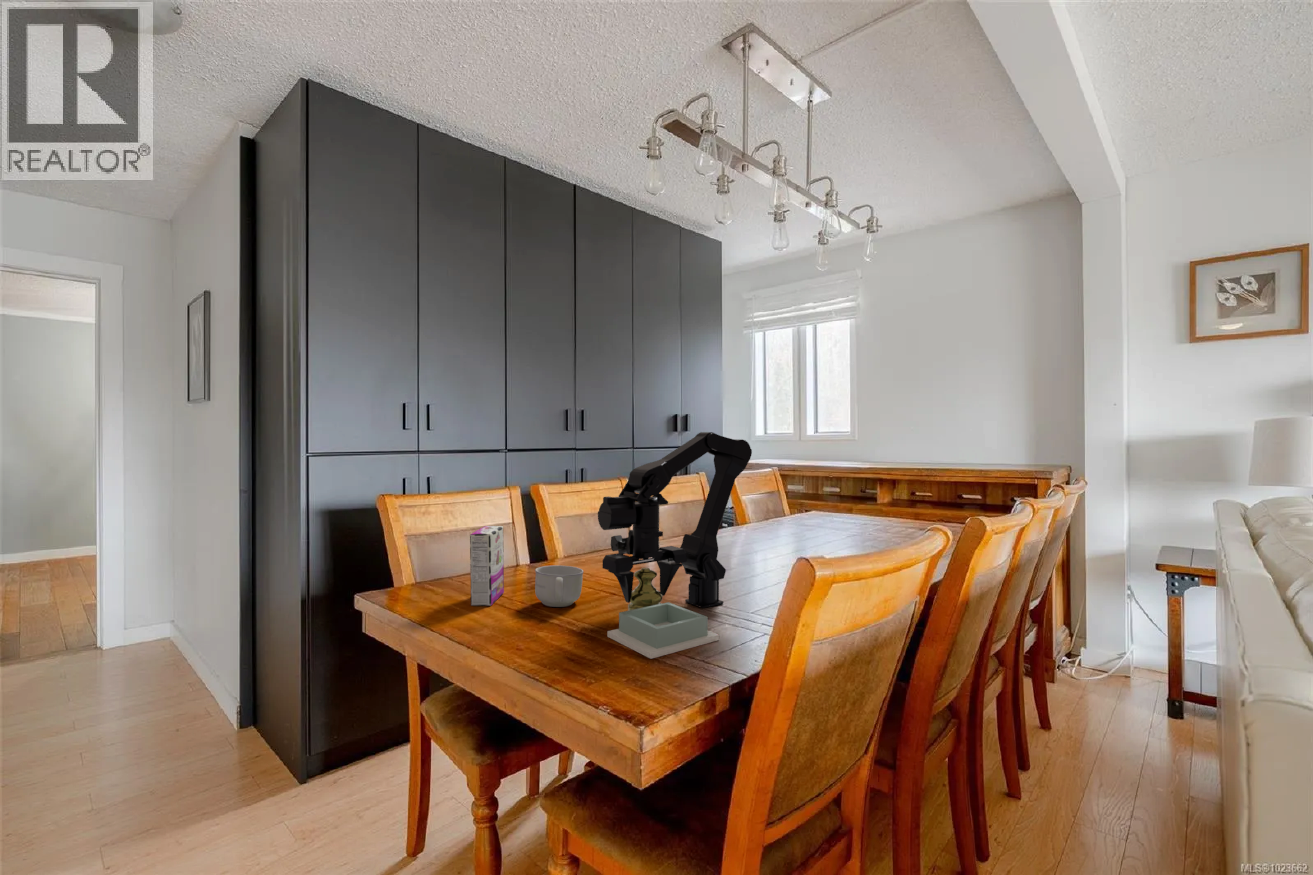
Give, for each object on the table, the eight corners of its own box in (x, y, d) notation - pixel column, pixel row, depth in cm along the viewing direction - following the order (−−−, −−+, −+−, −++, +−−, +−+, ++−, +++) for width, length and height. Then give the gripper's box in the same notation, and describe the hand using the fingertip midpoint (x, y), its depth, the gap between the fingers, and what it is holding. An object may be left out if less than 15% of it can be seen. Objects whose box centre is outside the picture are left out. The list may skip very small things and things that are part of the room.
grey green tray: (672, 621, 124) (672, 599, 124) (718, 640, 113) (719, 616, 113) (607, 636, 115) (607, 613, 115) (650, 658, 104) (650, 632, 104)
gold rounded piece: (620, 614, 129) (621, 568, 129) (646, 607, 134) (647, 563, 134) (643, 622, 124) (643, 574, 123) (669, 615, 129) (669, 568, 128)
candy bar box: (483, 593, 145) (484, 525, 145) (504, 593, 145) (504, 525, 145) (468, 606, 134) (469, 533, 134) (491, 606, 134) (491, 533, 134)
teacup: (540, 597, 142) (541, 563, 142) (586, 597, 142) (586, 563, 142) (526, 614, 128) (526, 577, 128) (576, 615, 128) (576, 578, 128)
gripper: (657, 518, 141) (657, 584, 141) (589, 525, 129) (588, 597, 130) (688, 524, 132) (688, 595, 132) (617, 532, 121) (617, 609, 121)
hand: (645, 598), depth 129 cm, fingers open, 9 cm apart
